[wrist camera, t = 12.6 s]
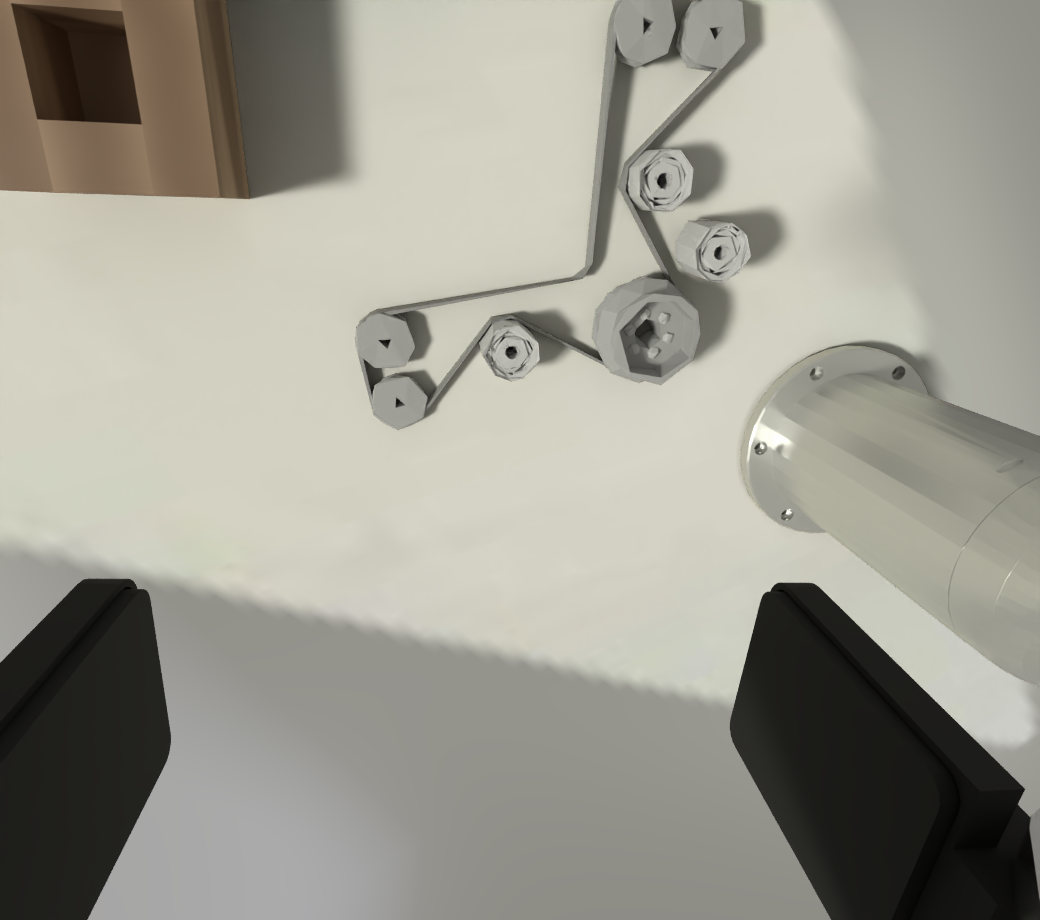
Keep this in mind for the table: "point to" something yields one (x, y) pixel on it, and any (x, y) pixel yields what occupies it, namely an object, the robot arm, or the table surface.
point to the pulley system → (644, 183)
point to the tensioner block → (119, 99)
